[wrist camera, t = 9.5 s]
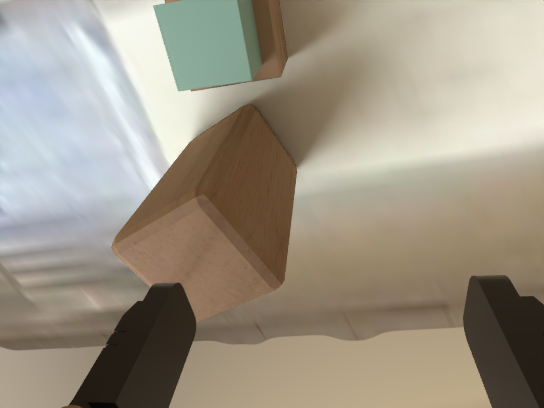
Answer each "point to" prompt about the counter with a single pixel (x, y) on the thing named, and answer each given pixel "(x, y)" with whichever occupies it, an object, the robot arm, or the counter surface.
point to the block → (217, 217)
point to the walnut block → (266, 40)
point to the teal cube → (210, 41)
